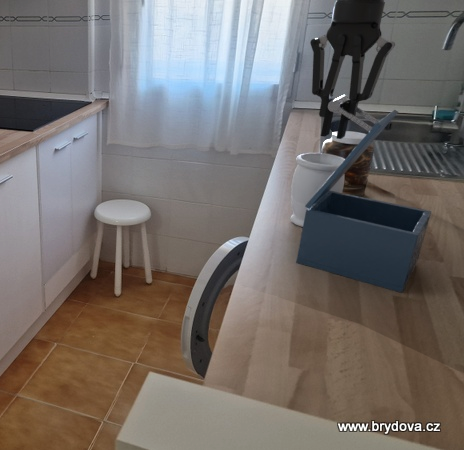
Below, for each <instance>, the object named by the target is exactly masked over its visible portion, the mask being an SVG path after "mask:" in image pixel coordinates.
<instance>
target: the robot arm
mask: <svg viewBox="0 0 464 450" xmlns="http://www.w3.org/2000/svg"><path fill="white" fill-rule="evenodd" d="M385 5H386V2H385V0H336V1H334V6H333V10H332V18H331V23H330V26H329V28H328V29H327V31H326V33H325V34H323V35H320V36H319V37H315V38H312V39H310V43H309V44H310V47H311V49H312V54H313V56H312V83H311V94H312V95H314V96H317V97H319V98H320V100H321V102H320V107H319V112H318V115H319V117H320V118H323V121H322V127H321V131H320V137H324V138H325V137H327V136H329V135H330V132H331V127H332V121H333V118H334V117H333V116H334V112H331V111H330V110H329V109H328V104H329V102H331V101H333V100H335V99H336V98H333V97H334V93H335V92H334V91H335V88H336V86H337V82H338V79H339V75H340V72H341V69H342V67H343V66H342V65H343V63H344V60H345V58H346V56H349V57H351V63H352V64H351V75H350V84H349V85H350V86H349V93H348V94H349V95H348V96H349V100H347V101H346V102H344V104H343V109H345V110H346V111H348V112H349V113H351V114H352V115H354V116H355V117H357V116H356V115H357V112H356V111H357V107H359V103H360V102H362V101H367V100H369V99H370V98H372V96H373V93H374V91H375V88H376V87H377V86H376V85H377V83H378V80H379V78H380V75H381V73H382V70H383V68H384V65H385V62H386V59H387V57H388V55H389V54H390V53H391V51H392V50H393V49H395V46H396V43H395V42H394V41H392V40H391V41H390V40H388V39H387V38H385V37H383V36H382V30H381V23H382V18H383V13H384V9H385ZM327 42H328V43H329V45H330V48H331V49H332V51H333V54H332V57H331V63H330V66H329V70H328V73H327V76H326V80H325V83H324V77H325V74H324V73H325V52H326V51H325V48H326V47H327V46H328V43H327ZM374 45H376V48H375V49H376V52H377V54H376V55H375V57H374V60H373V63H372V65H371V67H370V71H369V73H368V76H367V79H366V81H365V85H364V86H363V90H362V81H363V71H364V63H365V59H366V53H367V52H368V51H369V50H370V49H372V48H373V46H374ZM361 90H362V92H361ZM349 121H350V122H353V121H352V120H351V119H349V118H348V117H346V116H345V115H343V114H341V113H340V119H339V124H338V128H337V131H338V133H337V139H342V138H343V137H345V133H346V131H347V128H348V123H349Z"/></svg>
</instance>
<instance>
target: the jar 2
mask: <svg viewBox="0 0 464 450" xmlns="http://www.w3.org/2000/svg"><path fill="white" fill-rule="evenodd" d="M337 133H338V130H337V131H333V132H332V133H331V137H330V138H327V139H325V140H324V141H323V144H322V146H321V151H320V153H323V154H330V155H335V156H339V157H342V158H344V159H346V158H347V157H348V156H349V154H350V153H351V152H352V151H353V150H354V149H355V147H356V146H357V145H358V144H359V143H360V142H361V141H362V139H363V138H364V137H365V136H366V135H367V134H368V133H364V132H358V131H352V130H346V133H345V137H343V138H342V139H337ZM374 151H375V145H374V144H373V143H371V144H370V145H369V146H368V147H367V148H366V150H365V151H364V152H363V153H362V154H361V155H360V156H359V158H358V159H357V160H356V161H355V162H354V163H353V164H352V165H351V167H350V168H349V169H348V170H347V171H346V172H345V173H344V186H343V191H342V193H344V194H349V195H354V196H359V197H363V196H364V195H365V192H366V189H367V184H368V180H369V176H370V172H371V166H372V163H373V158H374V153H375V152H374Z"/></svg>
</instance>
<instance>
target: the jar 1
mask: <svg viewBox="0 0 464 450" xmlns="http://www.w3.org/2000/svg"><path fill="white" fill-rule="evenodd" d="M344 160H345V159H344V158H342V157H339V156H335V155H330V154H323V153H321V152H306V153H305V152H304V153H301V154H300V153H299V154H297V155H296V158H295V162H296V164H297V165H296V167H295V169H294V172H293V176H292V180H291V187H290V191H291V192H290V193H291V195H290V196H291V197H290V205H291V209H292V212H293V214H292V215H291V216H290V221H291V223H293V224H294V225H296V226H298V227H301V228H303V224H304V219H305V214H306V210H307V209H308V208H307V207H305V205H306V204H307V203H308V202H309V201H310V200H311V198H312V197H313V196H314V195H315V194H316V193H317V191H318V190H319V189H320V188H321V187H322V186H323V185H324V183H325V182H326V181H327V180H328V179H329V178H330V176H331V175H332V174H333V173H334V172H335V171H336V169H337V168H338V167H339V166H340V165H341V164H342V163H343V161H344ZM343 186H344V175H343V176H342V177H341V178H340V179H339V180H338V181H337V182H336V184H335V185H334V186H333V187H332V188H331V189H330V190H329V191H334V192H339V193H342V191H343Z"/></svg>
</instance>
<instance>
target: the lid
mask: <svg viewBox="0 0 464 450" xmlns="http://www.w3.org/2000/svg"><path fill="white" fill-rule="evenodd" d="M334 99H335V100H333V101H331V102H329V104H328V109H329V110H330V111H331V112H333V113H335V112H338V113H340V115H341V114H343V115H345V116H346V117H348V118H349V119H351V120H352V121H351V122H353V123H354V124H357V125H358V126H360V127H361V128H362V129H364V130H366V131H367V132H368V133H366V134H367V135H366V136H365V137H364V138H363V139H362V141H361V142H360V143H359V144H358V145H357V146H356V147H355V149H354V150H353V151H352V152H351V153H350V154H349V156H348V157H347V158H346V159H345V160H344V161H343V163H342V164H341V165H340V166H339V167H338V168H337V169H336V171H335V172H334V173H333V174H332V175H331V176H330V178H329V179H328V180H327V181H326V182H325V183H324V185H323V186H322V187H321V188H320V189H319V190H318V191H317V193H316V194H315V195H314V196H313V197H312V198H311V200H310V201H309V202H308V203H307V204H306V205H305V207H307V208H308V209H309V208H310V207H311V206H312V205H313V204H314V203H316V202H317V201H318V200H319V199H320V198H321V197H322V196H323V195H325V194H326V193H327V192H328V191H329V190H330V189H331V188H332V187H333V186H334V185H335V184H336V182H337V181H338V180H339V179H340V178H341V177H342V176H343V175H344V173H345V172H346V171H347V170H348V169H349V168H350V167H351V165H352V164H353V163H354V162H355V161H356V160H357V159H358V158H359V156H360V155H361V154H362V153H363V152H364V151H365V150H366V148H367V147H368V146H369V145H370V144H373V142H374V140H376V139H377V137H378V136H379V135H380V134H381V133H382V131H383V130H384V129H385V128H386V127H387V126H388V125H389V124H390V123H391V121H392V120H393V119H395V117H396V116H397V115H398V114H399V111H398V110H396V109H393V110H392V111H391V112H390V113H388V114H387V115H385V116H384V117H383V118H381V119H380V120H379V119H377V118H375V117H374V116H373V115H371V114H369V112H367V111H365V110H363V109H361V108H360V107H359V106H357V111H356V114H359V115H360V116H362V117H363V118H365V119H366V120H368V121H369V122H371V123H372V124H374V125H373V126H371V125H369V124H367V123H366V122H364V121H363V120H362V119H360V118H359V117H357V116H354V115H352V114H351V113H349V112H348V111H346V110H345V109H343V104H344V102H346V101H347V100H349V95H347V94H343V95H341V96H339V97H337V98H334Z"/></svg>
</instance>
